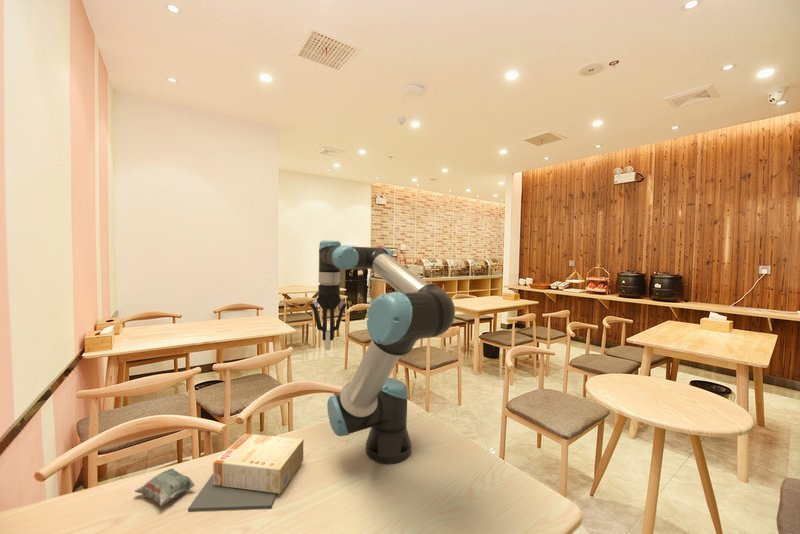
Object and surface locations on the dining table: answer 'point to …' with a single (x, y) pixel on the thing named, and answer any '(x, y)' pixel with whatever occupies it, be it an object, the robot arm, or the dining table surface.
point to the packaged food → (166, 486)
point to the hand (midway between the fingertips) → (327, 349)
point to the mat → (230, 498)
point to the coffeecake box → (258, 463)
